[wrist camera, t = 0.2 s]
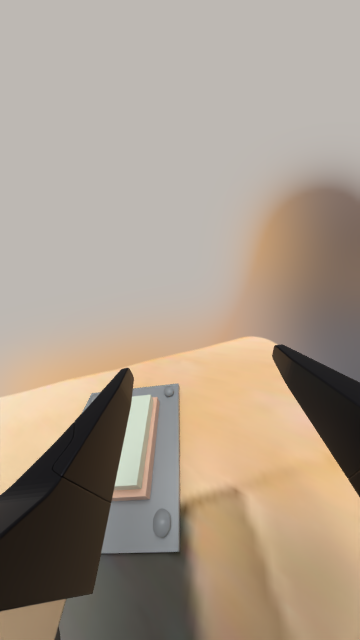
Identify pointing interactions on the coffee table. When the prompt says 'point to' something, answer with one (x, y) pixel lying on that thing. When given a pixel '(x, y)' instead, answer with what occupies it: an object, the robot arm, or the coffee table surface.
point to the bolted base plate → (147, 476)
